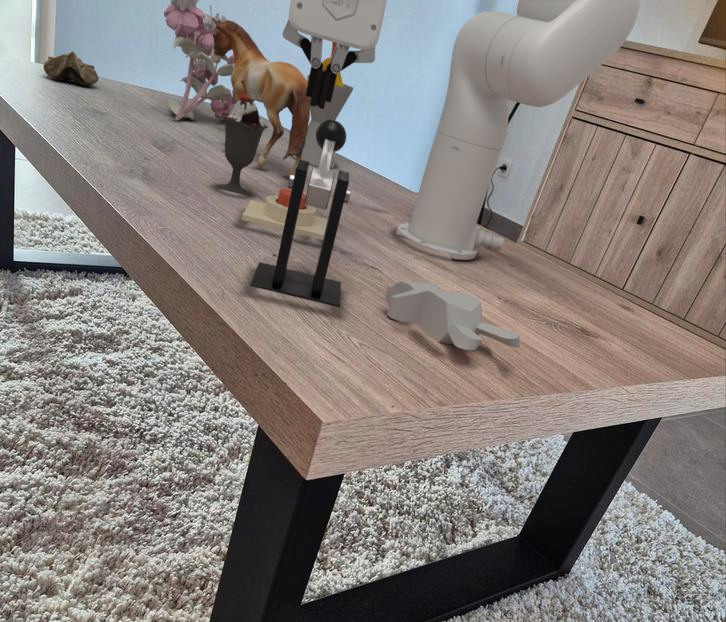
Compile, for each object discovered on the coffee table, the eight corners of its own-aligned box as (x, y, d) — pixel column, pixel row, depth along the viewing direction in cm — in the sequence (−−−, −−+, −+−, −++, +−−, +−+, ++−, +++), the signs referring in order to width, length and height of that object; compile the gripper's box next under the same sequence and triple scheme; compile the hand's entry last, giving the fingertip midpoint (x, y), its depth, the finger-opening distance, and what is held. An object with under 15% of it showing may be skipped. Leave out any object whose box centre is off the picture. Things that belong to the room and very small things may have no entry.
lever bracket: (257, 272, 73) (280, 151, 67) (338, 291, 74) (368, 175, 68) (248, 295, 67) (273, 164, 61) (337, 316, 68) (370, 190, 62)
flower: (262, 138, 134) (289, 14, 134) (145, 98, 126) (173, -35, 126) (242, 160, 153) (266, 51, 152) (139, 127, 145) (164, 11, 144)
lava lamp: (342, 170, 135) (390, -29, 119) (301, 163, 130) (344, -45, 114) (325, 158, 141) (367, -32, 126) (285, 151, 137) (324, -48, 121)
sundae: (220, 181, 102) (236, 76, 96) (261, 194, 102) (281, 89, 95) (202, 188, 97) (218, 76, 90) (246, 202, 96) (266, 91, 89)
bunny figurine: (437, 272, 76) (537, 318, 65) (427, 316, 78) (523, 367, 67) (369, 270, 70) (466, 319, 59) (360, 317, 72) (452, 373, 61)
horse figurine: (193, 135, 127) (210, 14, 118) (229, 140, 132) (248, 24, 123) (283, 189, 108) (311, 50, 99) (321, 192, 113) (351, 60, 104)
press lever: (315, 136, 73) (321, 110, 70) (344, 144, 73) (350, 118, 71) (298, 206, 66) (303, 179, 63) (330, 215, 66) (337, 188, 64)
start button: (305, 206, 90) (308, 193, 89) (303, 213, 87) (306, 200, 86) (278, 199, 89) (281, 186, 89) (275, 206, 86) (278, 192, 85)
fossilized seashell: (103, 75, 146) (55, 70, 145) (95, 46, 140) (45, 41, 140) (95, 97, 142) (46, 93, 142) (87, 69, 137) (36, 64, 136)
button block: (327, 231, 94) (333, 207, 92) (325, 248, 87) (331, 222, 85) (248, 211, 92) (253, 186, 91) (240, 227, 85) (244, 200, 84)
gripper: (284, -103, 67) (252, 93, 75) (427, -56, 70) (381, 127, 78) (284, -93, 73) (254, 86, 82) (415, -51, 77) (373, 117, 85)
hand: (316, 105), depth 80 cm, fingers closed
